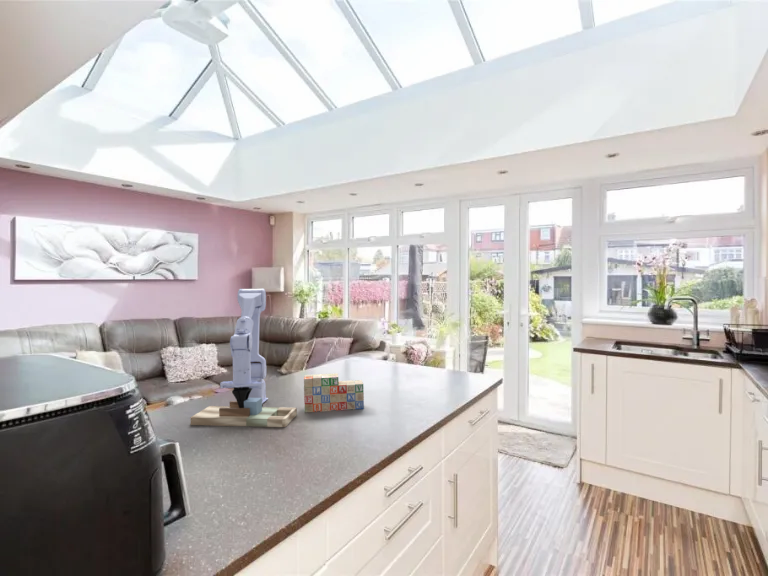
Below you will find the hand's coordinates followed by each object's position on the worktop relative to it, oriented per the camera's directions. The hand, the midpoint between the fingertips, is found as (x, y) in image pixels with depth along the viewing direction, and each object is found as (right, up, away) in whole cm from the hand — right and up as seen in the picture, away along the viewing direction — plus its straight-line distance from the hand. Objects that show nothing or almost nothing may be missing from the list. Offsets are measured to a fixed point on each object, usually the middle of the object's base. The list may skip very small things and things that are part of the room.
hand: (242, 409), depth 139 cm
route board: (+1, -4, 0) cm, 4 cm away
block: (+4, -1, 0) cm, 4 cm away
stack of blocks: (+30, -3, +12) cm, 32 cm away
